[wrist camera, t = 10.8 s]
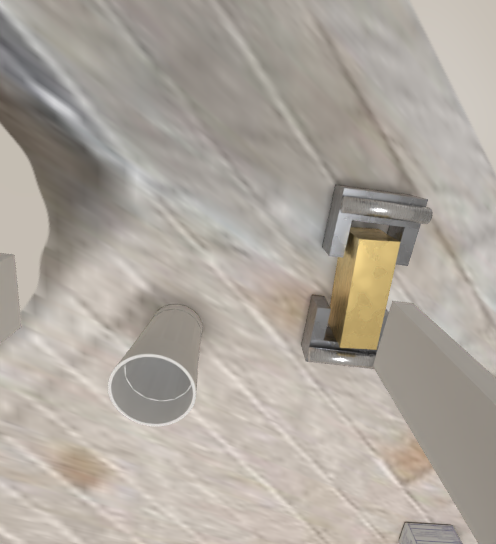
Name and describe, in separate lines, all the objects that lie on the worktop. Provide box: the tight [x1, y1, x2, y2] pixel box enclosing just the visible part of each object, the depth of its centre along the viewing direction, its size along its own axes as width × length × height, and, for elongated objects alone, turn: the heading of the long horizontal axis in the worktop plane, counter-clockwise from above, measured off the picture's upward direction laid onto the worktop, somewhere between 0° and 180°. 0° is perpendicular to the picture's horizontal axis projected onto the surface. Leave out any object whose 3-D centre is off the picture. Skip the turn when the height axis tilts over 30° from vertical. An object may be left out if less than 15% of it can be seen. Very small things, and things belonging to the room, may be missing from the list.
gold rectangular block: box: [328, 227, 400, 350], centre depth 38 cm, size 12×4×6 cm, turn 176°
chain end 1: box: [322, 185, 432, 266], centre depth 36 cm, size 7×8×5 cm
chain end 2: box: [301, 295, 389, 369], centre depth 40 cm, size 7×8×5 cm
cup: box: [108, 304, 203, 426], centre depth 37 cm, size 8×8×12 cm
